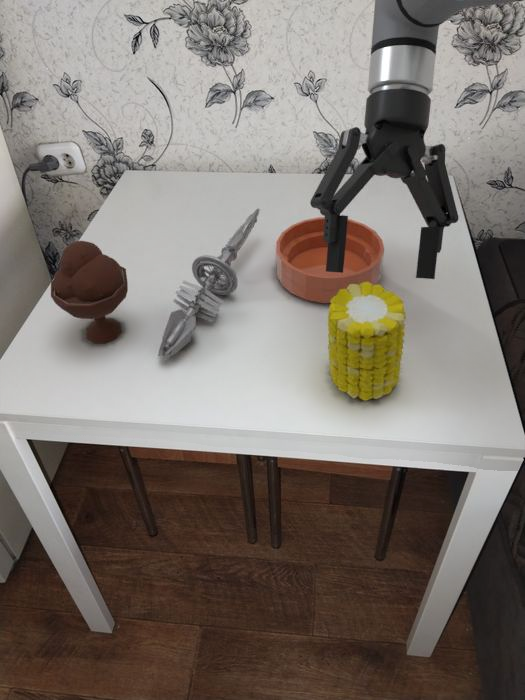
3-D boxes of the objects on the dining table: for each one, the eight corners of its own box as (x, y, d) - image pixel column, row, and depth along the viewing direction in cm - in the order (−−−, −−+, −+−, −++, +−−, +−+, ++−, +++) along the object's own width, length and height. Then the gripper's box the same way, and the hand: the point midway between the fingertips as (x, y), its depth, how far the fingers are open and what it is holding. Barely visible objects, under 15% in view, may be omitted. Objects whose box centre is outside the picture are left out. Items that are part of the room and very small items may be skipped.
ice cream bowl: (53, 346, 88) (21, 264, 78) (95, 302, 95) (70, 221, 85) (113, 364, 85) (88, 281, 75) (152, 316, 92) (134, 234, 82)
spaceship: (284, 204, 100) (243, 182, 100) (192, 354, 80) (140, 326, 80) (271, 235, 106) (232, 214, 106) (182, 381, 86) (134, 356, 86)
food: (408, 384, 82) (357, 423, 78) (349, 329, 87) (298, 364, 83) (444, 318, 70) (385, 361, 66) (373, 258, 74) (314, 295, 70)
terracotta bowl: (398, 265, 100) (403, 237, 96) (344, 320, 90) (347, 291, 86) (314, 233, 108) (315, 206, 104) (256, 280, 98) (254, 253, 94)
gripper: (457, 119, 78) (439, 279, 81) (291, 82, 68) (277, 268, 71) (501, 107, 72) (480, 282, 75) (324, 64, 61) (307, 270, 64)
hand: (381, 275), depth 73 cm, fingers open, 13 cm apart
